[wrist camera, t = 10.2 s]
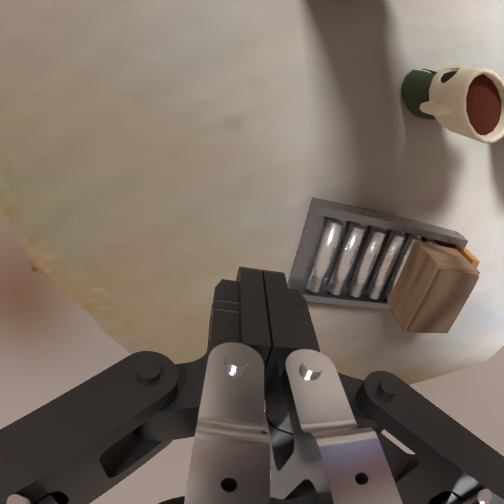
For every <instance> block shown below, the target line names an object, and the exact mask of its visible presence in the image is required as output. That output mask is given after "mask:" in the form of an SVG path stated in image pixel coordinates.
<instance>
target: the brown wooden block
mask: <svg viewBox="0 0 504 504" xmlns="http://www.w3.org/2000/svg"><path fill="white" fill-rule="evenodd" d="M479 273H480V272H479V271H478V270H477V269H476V268H475V267H474V266H473V265H472V264H471V263H470V262H469V261H468V260H467V259H466V258H465V257H464V256H463V255H462V254H461V253H460V252H459V251H458V250H457V249H452V248H448V247H444V246H439V245H435V244H430V243H426V242H421V241H417V240H415V242H414V244H413V247H412V249H411V251H410V254H409V256H408V258H407V261H406V263H405V265H404V267H403V270H402V272H401V274H400V276H399V278H398V281H397V283H396V285H395V287H394V289H393V291H392V293H391V295H390V297H389V299H388V302H387V304H388V306H389V307H390V309H391V311H392V313H393V314H394V316H395V318H396V320H397V321H398V323H399V325H400V327H401V329H402V330H403V331H408V332H421V333H448V331H449V329H450V328H451V326H452V325H453V323H454V321H455V320H456V318H457V316H458V315H459V313H460V311H461V309H462V308H463V306H464V304H465V302H466V301H467V299H468V297H469V295H470V293H471V292H472V290H473V288H474V286H475V284H476V282H477V280H478V278H479V277H478V275H479Z"/></svg>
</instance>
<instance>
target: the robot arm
mask: <svg viewBox="0 0 504 504" xmlns="http://www.w3.org/2000/svg"><path fill="white" fill-rule="evenodd" d="M308 311H309V309H308V306H307V302H306V299H305V298H304V297H303V296H302V294H301V293H300V292H299V291H298V290H297V289H291V288H288V287H287V282H286V278H285V274H284V273H282V272H275V271H267V270H260V269H253V268H246V267H239V270H238V274H237V279H236V281H231V280H224V279H222V280H221V281H220V283H219V284H218V285H217V286H216V287H215V292H214V298H213V304H212V311H211V317H210V324H209V336H208V348H207V353H206V354H205V355H204V356H203V357H202V358H200V359H198V360H196V361H193V362H190V363H183V364H174V363H173V362H172V361H171V360H170V359H169V358H168V357H166V356H164V355H162V354H160V353H157V352H152V351H142V352H137V353H134V354H132V355H130V356H128V357H126V358H124V359H123V360H121V361H119V362H118V363H116V364H114V365H113V366H111V367H109V368H108V369H106V370H104V371H102V372H101V373H99V374H97V375H96V376H94V377H92V378H91V379H89V380H87V381H86V382H84V383H82V384H80V385H79V386H77V387H75V388H73V389H72V390H70V391H68V392H66V393H65V394H63V395H61V396H60V397H58V398H56V399H54V400H52V401H51V402H49V403H47V404H45V405H44V406H42V407H40V408H38V409H37V410H35V411H33V412H31V413H30V414H28V415H26V416H24V417H22V418H21V419H19V420H17V421H15V422H13V423H12V424H10V425H8V426H6V427H4V428H2V429H1V430H0V504H89V503H91V502H92V501H93V500H95V499H96V498H98V497H99V496H101V495H102V494H104V493H105V492H107V491H108V490H109V489H111V488H112V487H114V486H115V485H116V484H118V483H119V482H120V481H122V480H123V479H125V478H126V477H127V476H129V475H130V474H131V473H133V472H134V471H135V470H137V469H138V468H139V467H141V466H142V465H143V464H145V463H146V462H147V461H148V460H150V459H151V458H152V457H154V456H155V455H156V454H157V453H158V452H160V451H161V450H162V449H164V448H165V447H166V446H167V445H169V444H170V443H171V442H172V440H174V439H181V438H187V437H193V436H195V437H194V443H193V449H192V455H191V462H190V468H189V474H188V481H187V487H186V494H185V496H182V497H177V498H173V499H170V500H166V501H163V502H161V503H159V504H504V457H503V456H502V455H501V454H499V453H498V452H497V451H495V450H494V449H493V448H491V447H490V446H489V445H487V444H486V443H485V442H483V441H482V440H480V439H479V438H478V437H476V436H475V435H474V434H472V433H471V432H470V431H468V430H467V429H466V428H464V427H463V426H462V425H460V424H459V423H458V422H456V421H455V420H453V419H452V418H451V417H450V416H448V415H447V414H446V413H444V412H443V411H442V410H440V409H439V408H438V407H436V406H435V405H434V404H432V403H431V402H430V401H429V400H427V399H426V398H424V397H423V396H422V395H421V394H419V393H418V392H416V391H415V390H414V389H413V388H411V387H410V386H409V385H407V384H406V383H405V382H403V381H402V380H401V379H400V378H398V377H397V376H395V375H393V374H391V373H389V372H385V371H375V372H372V373H370V374H369V375H368V376H367V377H366V379H365V380H364V381H363V380H360V379H356V378H353V377H349V376H346V375H343V374H340V373H338V372H337V371H336V368H335V366H334V364H333V363H332V361H331V360H330V359H329V358H328V357H327V356H325V355H324V354H322V353H320V349H319V345H318V342H317V338H316V334H315V331H314V327H313V324H312V321H311V316H310V313H309V312H308ZM264 399H265V403H266V409H265V412H264ZM384 429H385V430H386V431H388V432H389V433H390V434H391V435H393V436H394V437H395V438H396V439H398V440H399V441H400V442H401V443H403V444H404V445H405V446H407V447H408V448H409V449H410V450H412V451H413V452H414V453H416V454H414V455H412V454H407V453H406V452H404V451H403V450H402V449H400V448H399V447H398V446H397V445H395V444H394V443H393V442H392V441H390V440H389V439H388V438H387V437H385V436H384V435H383V434H381V432H382V431H383V430H384ZM270 471H271V481H270Z"/></svg>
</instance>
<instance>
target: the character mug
mask: <svg viewBox="0 0 504 504" xmlns="http://www.w3.org/2000/svg"><path fill="white" fill-rule="evenodd" d="M423 70H427V69H423ZM427 71H429V72H431V73H428V72H424V71H418V70H412V71H411V72H410V73H409V74H408V75H407V76H406V77H405V79H404V82H403V85H402V92H403V99H404V101H405V103H406V105H407V107H408V109H409V110H410V111H411V112H412V113H413V114H414V115H415V116H417V117H421V118H424V119H431V120H437V121H438V122H439V124H440V125H442V126H443V127H445V128H447V129H448V130H450V131H452V132H455V133H458V134H461V135H464V136H466V137H469V138H472V139H474V140H477V141H479V142H483V143H495V142H497V141H499V140H500V139H502V138H503V137H504V81H503V79H502V78H501V77H500V76H499V75H498V74H496V73H495V72H494V71H492V70H489V69H485V68H474V67H463V66H448V67H444V68H442V69H440V70H439V71H438V72H435V71H432V70H427Z"/></svg>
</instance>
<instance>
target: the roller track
mask: <svg viewBox="0 0 504 504" xmlns="http://www.w3.org/2000/svg"><path fill="white" fill-rule="evenodd" d="M415 240H417V241H421V242H426V243H430V244H435V245H439V246H444V247H448V248H452V249H457V250H458V251H459V252H460V253H461V254H462V255H463V256H464V257H465V258H466V259H467V260H468V261H469V262H470V263H471V264H472V265H473V266H474V267H475V268H477V266H478V264H479V262H480V261H479V260H478V259H477V258H476V257H474V256H473V255H472V254H471V253H470V252H469V251H468V250H467V249H466V248H465V247H466V244H467V242H468V240H466V239H465V238H464V237H463V236H462V235H461V234H460V233H458V232H456V231H452V230H448V229H445V228H441V227H437V226H433V225H429V224H425V223H422V222H418V221H414V220H410V219H406V218H402V217H397V216H393V215H389V214H385V213H381V212H376V211H372V210H367V209H363V208H358V207H354V206H349V205H345V204H340V203H335V202H330V201H326V200H321V199H316V198H312V201H311V204H310V208H309V211H308V215H307V219H306V222H305V226H304V229H303V233H302V236H301V240H300V243H299V247H298V250H297V253H296V257H295V260H294V264H293V267H292V270H291V274H290V277H289V280H288V284H287V287H288V288H291V289H297V290H298V291H299V292H300V293H301V294H302V296H303V297H304V298H305V299H306V301H307V302H316V303H325V304H335V305H345V306H355V307H366V308H376V309H388V310H391V309H390V307H389V306H388V304H387V302H388V299H389V297H390V295H391V293H392V291H393V289H394V287H395V285H396V283H397V281H398V278H399V276H400V274H401V272H402V270H403V267H404V265H405V263H406V261H407V258H408V256H409V254H410V251H411V249H412V247H413V244H414V242H415Z"/></svg>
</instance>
